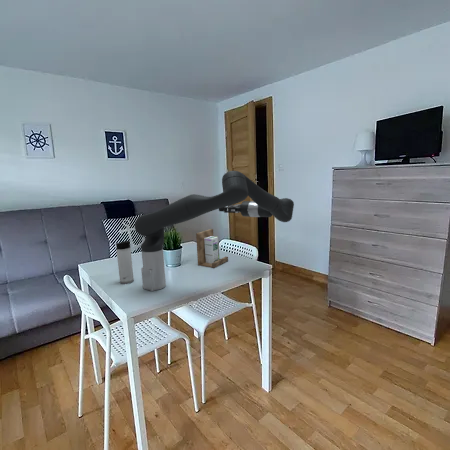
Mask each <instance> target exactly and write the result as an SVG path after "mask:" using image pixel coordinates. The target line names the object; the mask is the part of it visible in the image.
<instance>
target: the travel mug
mask: <svg viewBox="0 0 450 450" xmlns="http://www.w3.org/2000/svg"><path fill="white" fill-rule="evenodd" d="M115 245H116V256H117V266H118V267H117V268H118V276H119V283H120V284H123V285H125V284H126V285H127V284H128V285H129V284H131V283H133V282H134V279H135V278H134V270H133V261H132V260H133V258H132V248H131V241H130V240H125V241H121V242H116V243H115Z"/></svg>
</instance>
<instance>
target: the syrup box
mask: <svg viewBox="0 0 450 450" xmlns="http://www.w3.org/2000/svg"><path fill="white" fill-rule="evenodd" d="M219 242H220V241H219V236H214V235H213V236H210V237H207V238H204V243H205V258H206V263H209V264H212V263H213V262H215V261H218V260H220V259H221V258H220V246H219V245H220V244H219Z"/></svg>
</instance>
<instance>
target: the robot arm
mask: <svg viewBox="0 0 450 450" xmlns="http://www.w3.org/2000/svg"><path fill="white" fill-rule="evenodd" d="M221 186H222V192H221V193H219V194H216V195H211V196H205V195H201V194H189V195H186V196H185V197H182V198H179V199H177V200H175V201H174V202H171V203H170V204H168V205H166V206H164V207H163V208H161V209H158V210H156V211H153V212H150V213H145V214H142V215H140V216H139V217H137V218H136V220H135V222H134V230H135V232H136V233H138V234H139V235H140V236H143V237H145V239H144V240H143V242H142V243H141V245H140V247H141V250H140V251H141V259H142V261H141V262H142V267H141V269H140V270H141V281H142V289H143V290H147V291H151V292H154V291H157V290H161V289H163V288H165V287H166V286H167V283H166V272H165V257H164V242H165V229H164V228H166V227H169V226H173V225H177V224H181V223H185V222H187V221H191V220H193V219H196V218H198V217H201V216H202V215H205V214H208V213H210V212H213V211H216V210H218V211H219V212H223V213H225V214H226V213H231V214H238V213H240V214H241V216H242V217H246V218H249V217H250V218H271V217H272V216H273V217H274V218H275V219H276V220H278V221H280V222H282V223H288V222H290V221H291V220H292V218H293V213H294V208H295V203H294V201H293V200H292V199H291V198H288V197H285V198H279V197H277V196H276V195H274V194H272V193H270V192H267V191H266V190H264V189H263V188H262V187H260V186H259V185H258V184H257V183H255V182H254V181H253V180H251V179H250V178H249V177H248V176H247V175H245V174H244V173H242V172H241V171H238V170H229V171H227V172H225V173H224V174H223V175H222V178H221ZM248 197H249V198H250V199H251V200H247V198H248Z"/></svg>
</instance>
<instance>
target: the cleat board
mask: <svg viewBox="0 0 450 450" xmlns="http://www.w3.org/2000/svg"><path fill="white" fill-rule="evenodd" d="M210 236H214V228H210V229H206V230H202V231H201V232H197V233H196V232H195V238H196V240H195V241H196V253H197V254H196V255H197V256H196V257H197V266H199V267H200V266H201V267H206V268H211V269H215V268H217V267H219V266H221V265H223V264H225V263H228V261H229V257H228V256H224V257H222V258H219V259H220V260H218V261H215V262H213V263H212V264H209V263H206V258H205V243H204V238H207V237H210Z"/></svg>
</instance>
